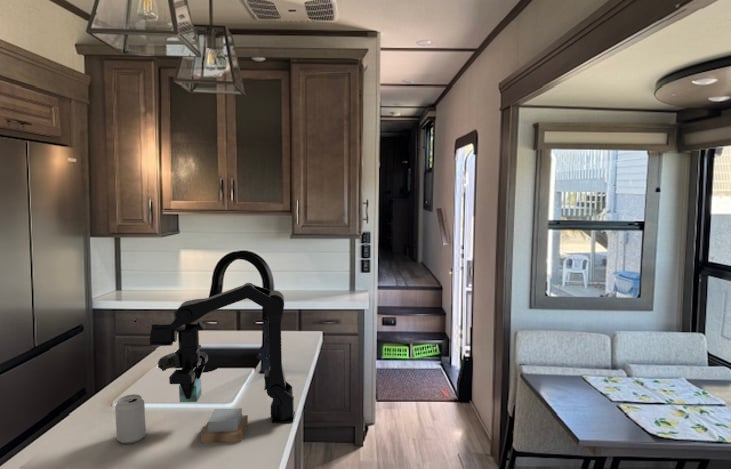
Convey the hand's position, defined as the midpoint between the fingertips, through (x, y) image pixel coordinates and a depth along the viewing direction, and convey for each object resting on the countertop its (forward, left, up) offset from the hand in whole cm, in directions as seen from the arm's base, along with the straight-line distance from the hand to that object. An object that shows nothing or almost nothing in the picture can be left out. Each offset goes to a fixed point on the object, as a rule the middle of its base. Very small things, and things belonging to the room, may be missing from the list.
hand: (190, 394), depth 149 cm
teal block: (0, 0, -1) cm, 1 cm away
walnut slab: (-11, +5, -10) cm, 16 cm away
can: (+15, +7, -10) cm, 19 cm away
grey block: (-11, +5, -7) cm, 14 cm away
